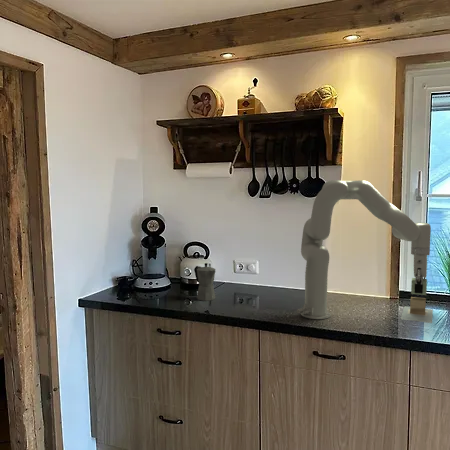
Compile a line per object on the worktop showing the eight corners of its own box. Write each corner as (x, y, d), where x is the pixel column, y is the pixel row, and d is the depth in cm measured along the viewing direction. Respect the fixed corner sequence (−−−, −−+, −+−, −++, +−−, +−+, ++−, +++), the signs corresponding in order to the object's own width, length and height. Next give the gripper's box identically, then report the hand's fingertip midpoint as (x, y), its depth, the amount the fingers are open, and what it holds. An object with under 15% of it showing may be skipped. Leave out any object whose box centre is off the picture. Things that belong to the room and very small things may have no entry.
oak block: (424, 315, 192) (425, 301, 192) (409, 313, 195) (410, 299, 194) (425, 311, 198) (425, 298, 197) (410, 309, 200) (411, 296, 200)
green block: (426, 295, 191) (426, 281, 191) (411, 293, 194) (411, 280, 194) (426, 292, 197) (426, 278, 196) (411, 290, 199) (412, 277, 199)
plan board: (432, 324, 181) (432, 323, 181) (400, 320, 186) (400, 319, 186) (432, 310, 201) (432, 309, 201) (404, 307, 206) (404, 306, 206)
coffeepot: (221, 299, 220) (222, 263, 218) (207, 302, 214) (207, 266, 212) (201, 293, 231) (201, 259, 230) (187, 296, 225) (187, 261, 223)
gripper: (429, 254, 184) (427, 296, 186) (430, 248, 200) (428, 288, 201) (409, 253, 188) (408, 294, 189) (412, 247, 203) (410, 286, 205)
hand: (418, 291), depth 195 cm, fingers closed on green block, 6 cm apart
